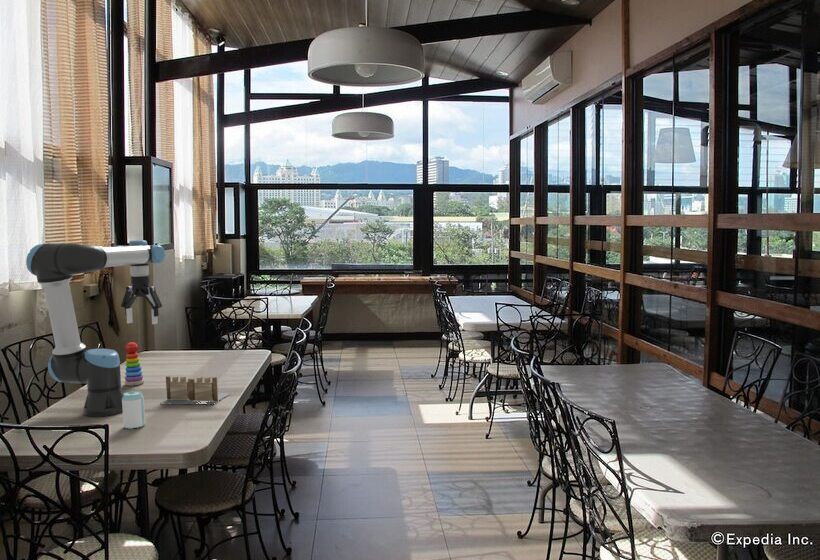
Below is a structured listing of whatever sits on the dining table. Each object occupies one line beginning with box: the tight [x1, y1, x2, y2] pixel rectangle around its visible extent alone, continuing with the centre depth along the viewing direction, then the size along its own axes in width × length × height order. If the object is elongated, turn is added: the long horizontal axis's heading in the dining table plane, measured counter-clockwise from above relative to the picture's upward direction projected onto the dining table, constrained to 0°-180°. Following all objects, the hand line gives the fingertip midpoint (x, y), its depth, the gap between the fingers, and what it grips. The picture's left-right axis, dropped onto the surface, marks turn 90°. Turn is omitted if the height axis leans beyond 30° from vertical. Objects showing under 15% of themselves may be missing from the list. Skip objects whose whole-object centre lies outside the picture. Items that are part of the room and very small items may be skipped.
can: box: [122, 390, 146, 430], centre depth 234 cm, size 7×7×12 cm
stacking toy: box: [124, 341, 145, 387], centre depth 296 cm, size 8×8×19 cm
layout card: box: [160, 392, 231, 406], centre depth 269 cm, size 16×22×1 cm
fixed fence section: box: [187, 376, 219, 401], centre depth 265 cm, size 2×12×10 cm, turn 81°
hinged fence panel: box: [165, 375, 189, 400], centre depth 267 cm, size 2×9×9 cm, turn 81°
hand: (142, 323), depth 296 cm, fingers open, 13 cm apart
